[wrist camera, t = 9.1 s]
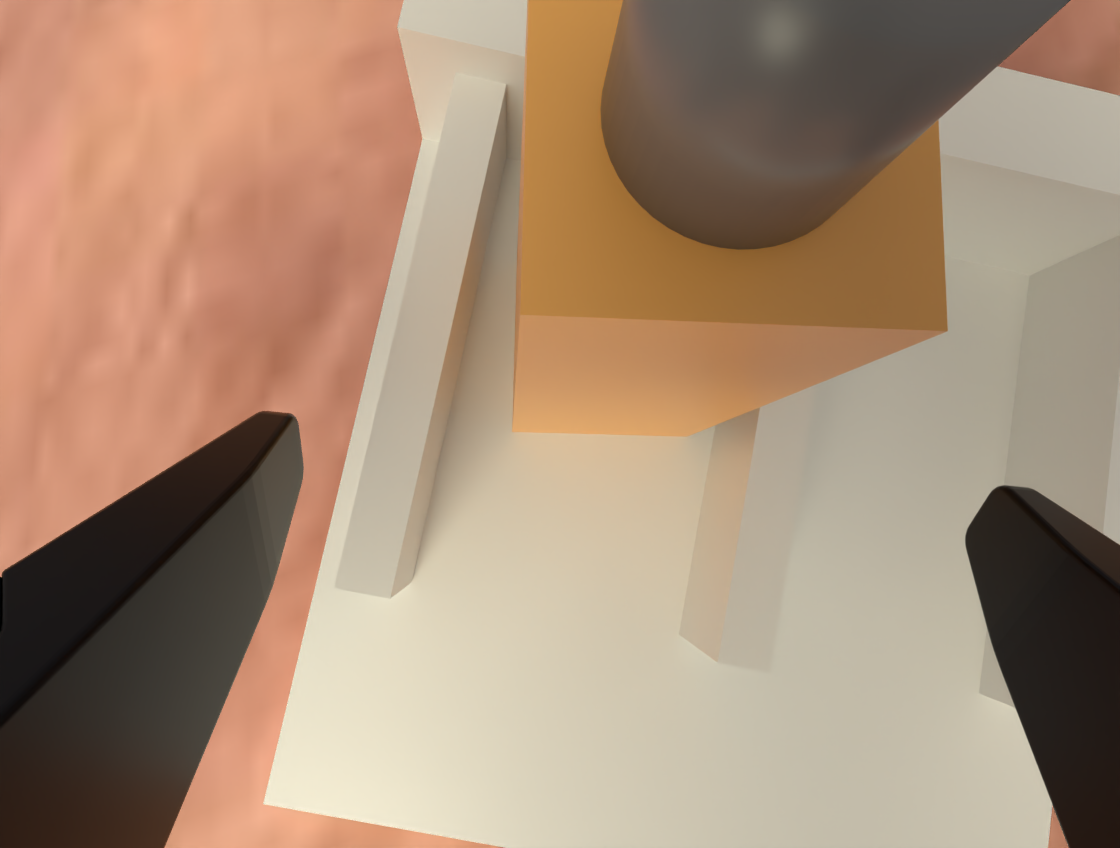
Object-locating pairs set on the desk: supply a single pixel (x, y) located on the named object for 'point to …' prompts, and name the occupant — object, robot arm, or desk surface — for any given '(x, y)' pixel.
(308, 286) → the desk surface
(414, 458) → the white ribbed tray
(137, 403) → the desk surface
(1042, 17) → the orange plug
